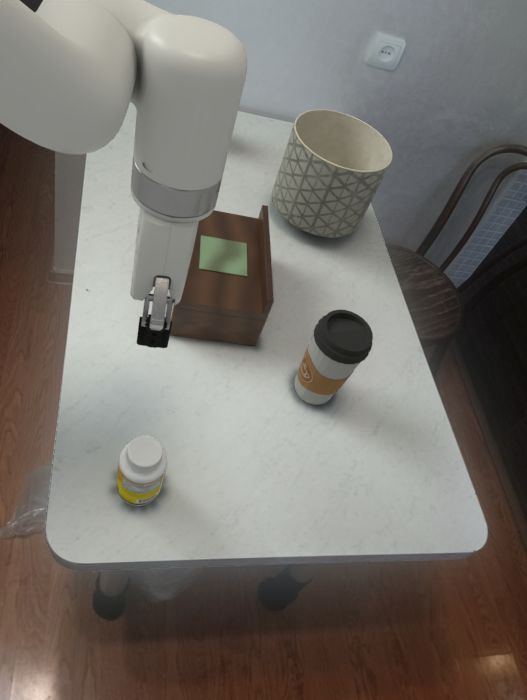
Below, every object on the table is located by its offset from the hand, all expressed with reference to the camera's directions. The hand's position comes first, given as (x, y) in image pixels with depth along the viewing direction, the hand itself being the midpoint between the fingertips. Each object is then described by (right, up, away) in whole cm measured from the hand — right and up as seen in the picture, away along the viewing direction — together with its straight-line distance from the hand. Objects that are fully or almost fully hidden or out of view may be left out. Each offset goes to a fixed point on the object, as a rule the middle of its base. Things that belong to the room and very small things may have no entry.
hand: (156, 309), depth 59 cm
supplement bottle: (-4, -22, +9) cm, 24 cm away
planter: (+22, +23, +52) cm, 61 cm away
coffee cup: (+20, -11, +25) cm, 34 cm away
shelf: (+3, +6, +32) cm, 33 cm away
